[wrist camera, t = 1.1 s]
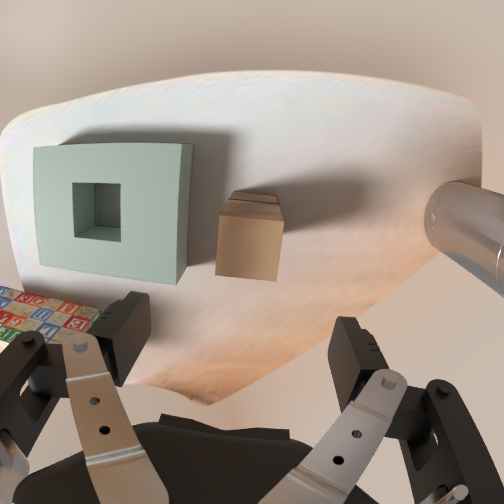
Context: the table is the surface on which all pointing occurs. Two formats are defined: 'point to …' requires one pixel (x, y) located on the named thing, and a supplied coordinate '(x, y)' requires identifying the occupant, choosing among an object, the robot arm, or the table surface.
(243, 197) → the walnut peg
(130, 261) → the socket board
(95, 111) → the table surface
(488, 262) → the robot arm
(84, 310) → the stack of blocks
